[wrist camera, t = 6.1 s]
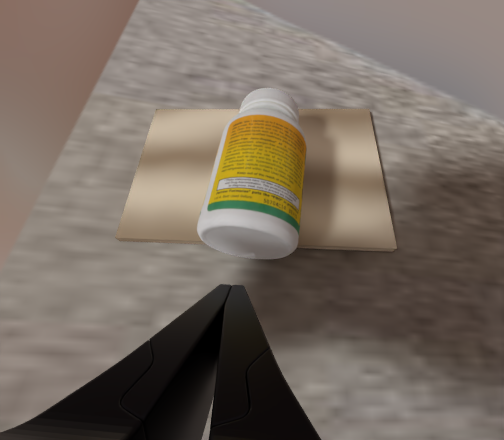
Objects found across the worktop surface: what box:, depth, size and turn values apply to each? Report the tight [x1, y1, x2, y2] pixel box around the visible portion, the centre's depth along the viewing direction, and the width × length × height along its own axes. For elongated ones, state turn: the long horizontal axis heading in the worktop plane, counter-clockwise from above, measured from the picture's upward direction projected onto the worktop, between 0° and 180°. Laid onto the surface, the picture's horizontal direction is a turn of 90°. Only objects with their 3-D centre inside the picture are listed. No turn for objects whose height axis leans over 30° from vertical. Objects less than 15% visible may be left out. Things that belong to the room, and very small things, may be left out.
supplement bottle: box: [197, 88, 307, 259], centre depth 15 cm, size 5×5×10 cm
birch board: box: [115, 109, 397, 252], centre depth 19 cm, size 12×18×1 cm, turn 87°
